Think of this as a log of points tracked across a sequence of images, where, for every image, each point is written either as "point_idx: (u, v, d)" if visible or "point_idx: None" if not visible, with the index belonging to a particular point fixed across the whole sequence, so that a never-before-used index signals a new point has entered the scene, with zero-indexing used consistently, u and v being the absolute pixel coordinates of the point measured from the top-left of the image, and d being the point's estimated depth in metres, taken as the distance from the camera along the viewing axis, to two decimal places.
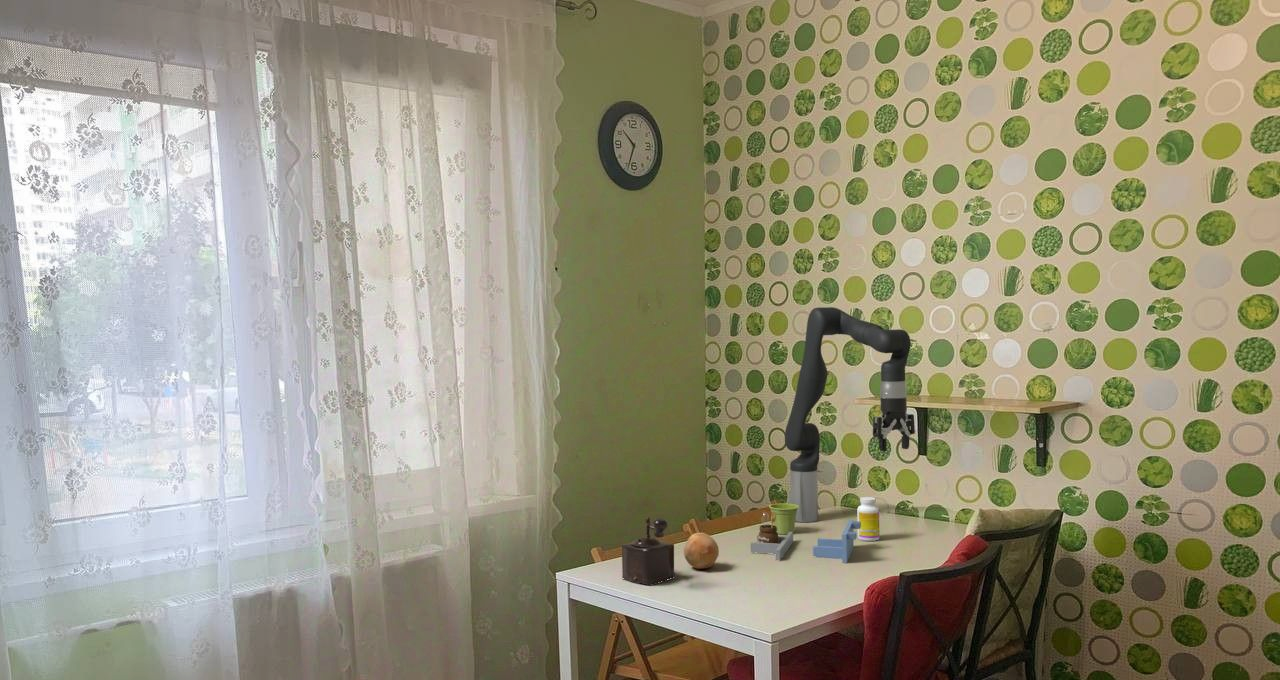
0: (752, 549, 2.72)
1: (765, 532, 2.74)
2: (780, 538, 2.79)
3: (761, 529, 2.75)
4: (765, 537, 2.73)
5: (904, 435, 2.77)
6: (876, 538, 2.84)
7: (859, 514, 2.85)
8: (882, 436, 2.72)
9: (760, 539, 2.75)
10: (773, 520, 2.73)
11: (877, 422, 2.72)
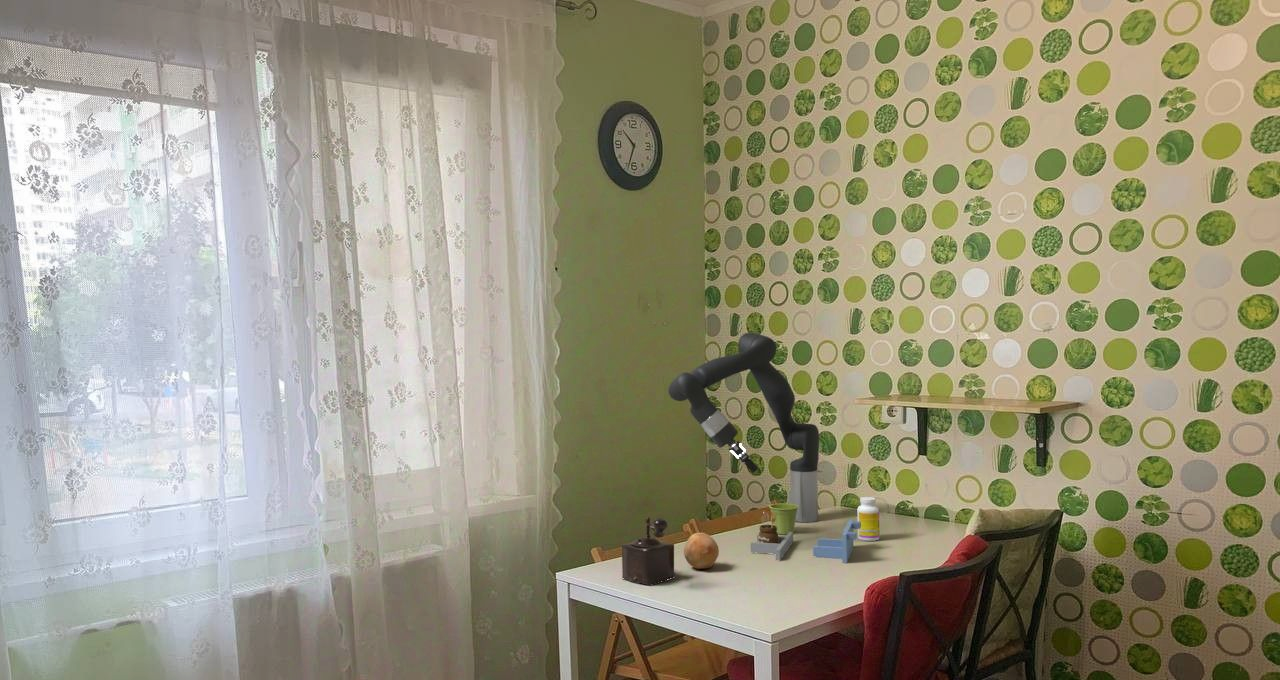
0: (752, 549, 2.72)
1: (765, 532, 2.74)
2: (780, 538, 2.79)
3: (761, 529, 2.75)
4: (765, 537, 2.73)
5: None
6: (876, 538, 2.84)
7: (859, 514, 2.85)
8: None
9: (760, 539, 2.75)
10: (773, 520, 2.73)
11: None
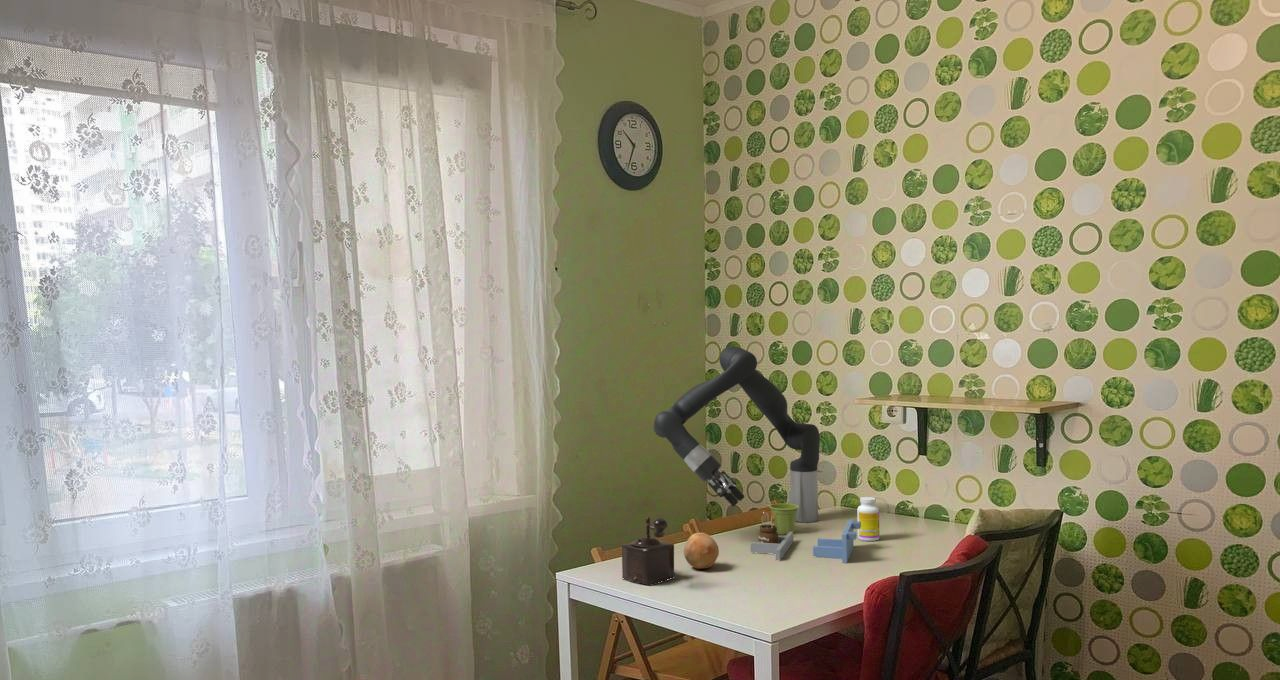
0: (752, 549, 2.72)
1: (765, 532, 2.74)
2: (780, 538, 2.79)
3: (761, 529, 2.75)
4: (765, 537, 2.73)
5: None
6: (876, 538, 2.84)
7: (859, 514, 2.85)
8: None
9: (760, 539, 2.75)
10: (773, 520, 2.73)
11: None
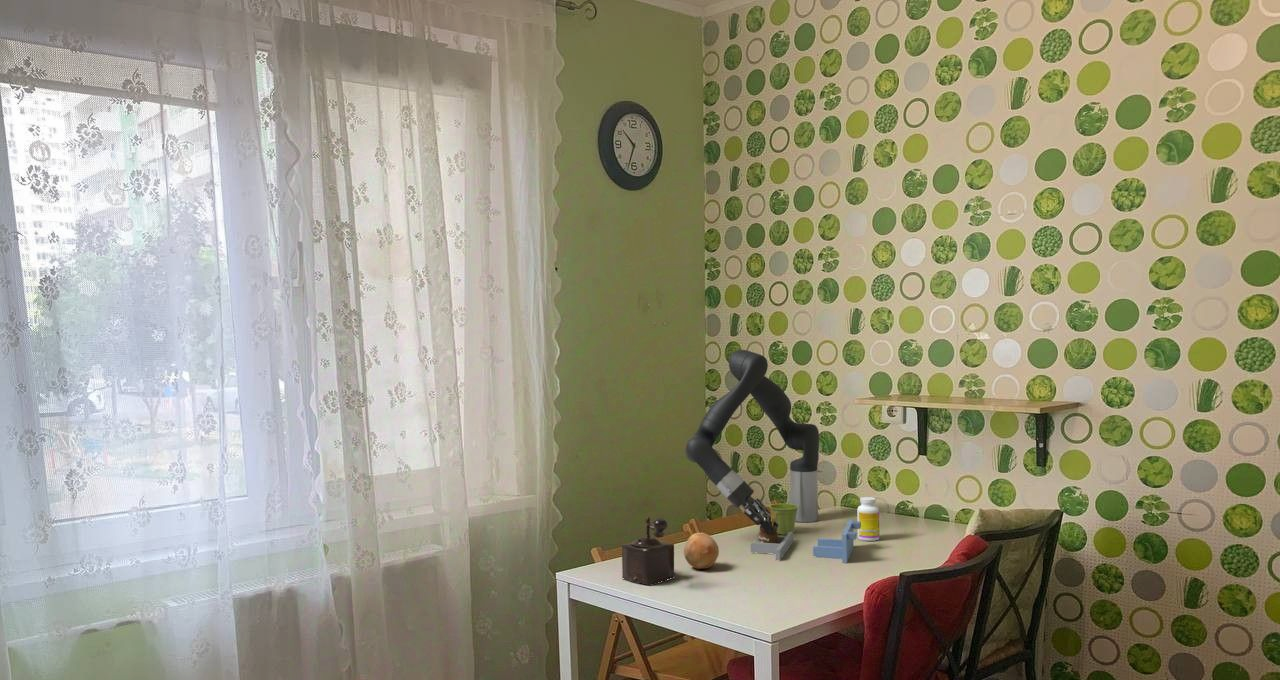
0: (752, 549, 2.72)
1: (765, 532, 2.74)
2: (780, 538, 2.79)
3: (761, 529, 2.75)
4: (765, 537, 2.73)
5: None
6: (876, 538, 2.84)
7: (859, 514, 2.85)
8: None
9: (760, 539, 2.75)
10: (773, 520, 2.73)
11: None
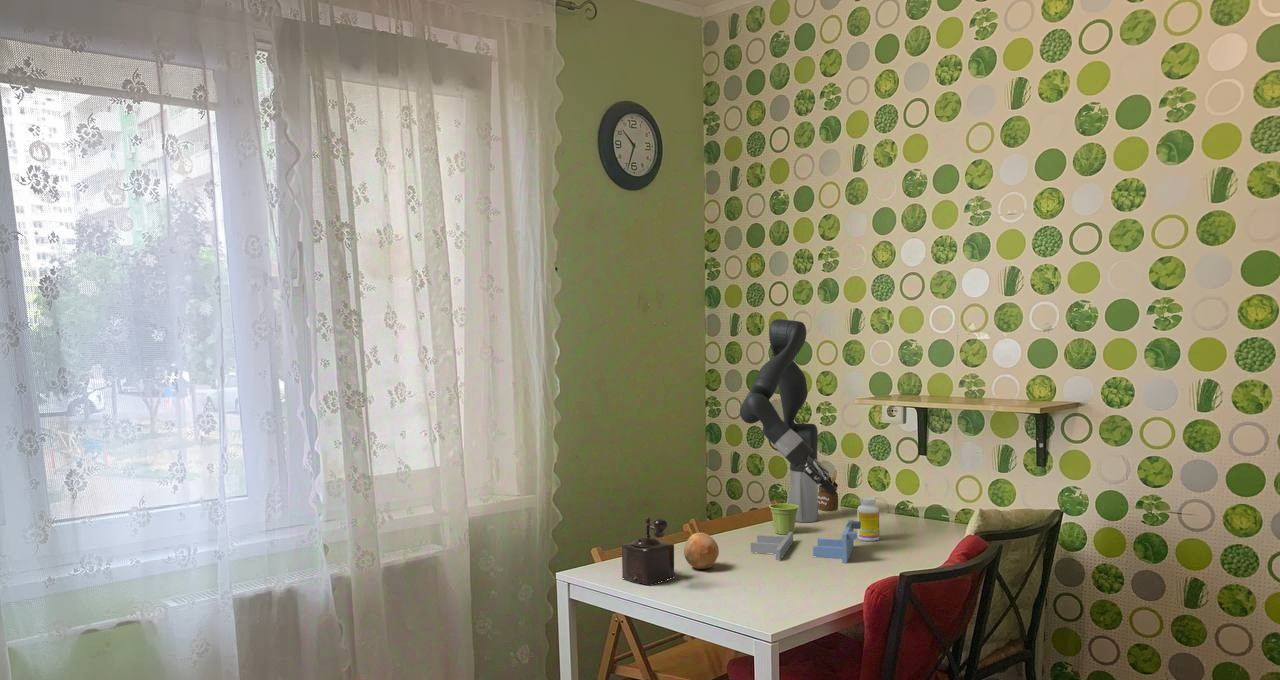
0: (752, 549, 2.72)
1: (825, 492, 2.68)
2: (780, 538, 2.79)
3: (821, 489, 2.69)
4: (825, 497, 2.67)
5: None
6: (876, 538, 2.84)
7: (859, 514, 2.85)
8: None
9: (820, 499, 2.69)
10: (833, 479, 2.67)
11: None
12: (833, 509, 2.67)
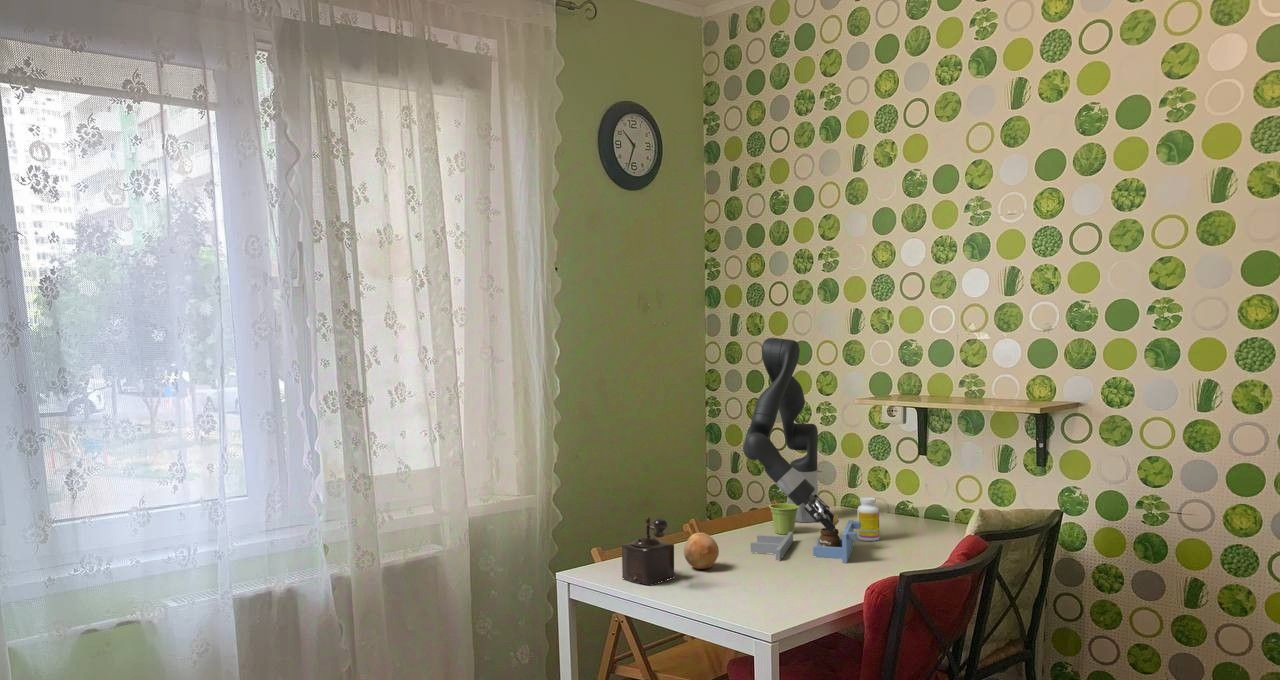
0: (752, 549, 2.72)
1: (827, 535, 2.68)
2: (780, 538, 2.79)
3: (822, 532, 2.69)
4: (827, 541, 2.68)
5: None
6: (876, 538, 2.84)
7: (859, 514, 2.85)
8: None
9: (822, 542, 2.69)
10: (835, 523, 2.68)
11: None
12: None
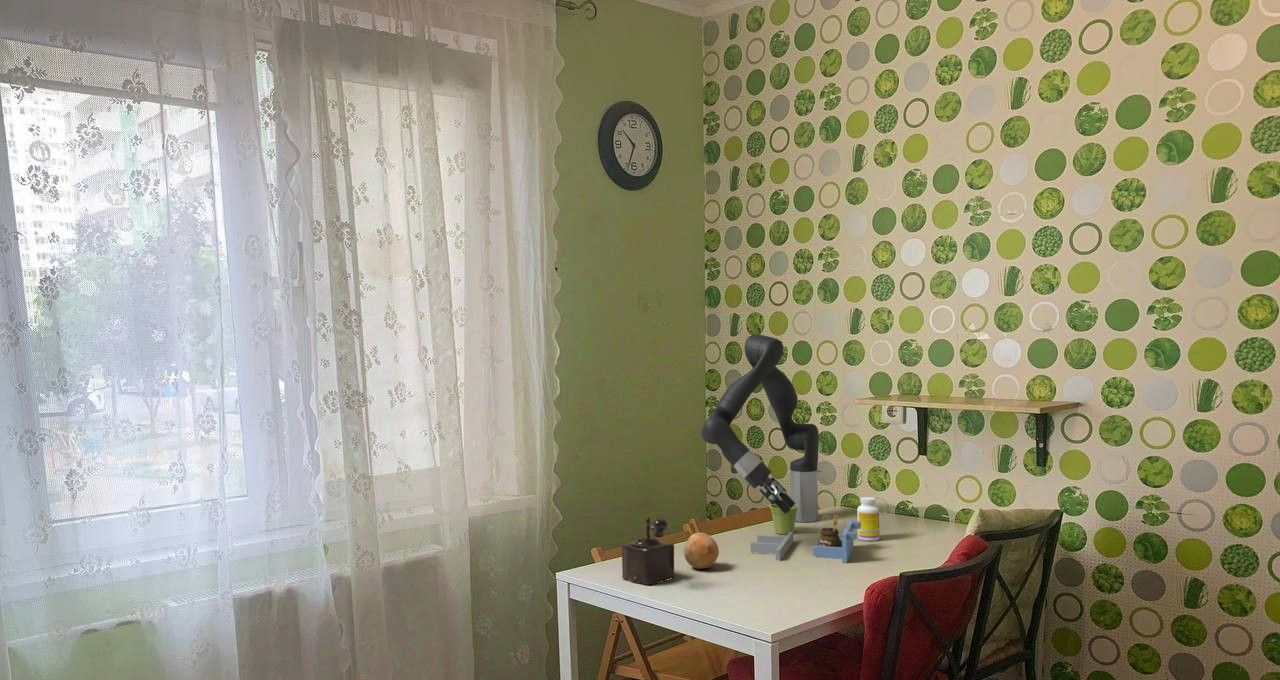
0: (752, 549, 2.72)
1: (827, 535, 2.68)
2: (780, 538, 2.79)
3: (823, 532, 2.69)
4: (827, 541, 2.68)
5: None
6: (876, 538, 2.84)
7: (859, 514, 2.85)
8: None
9: (822, 542, 2.69)
10: (835, 523, 2.68)
11: None
12: None
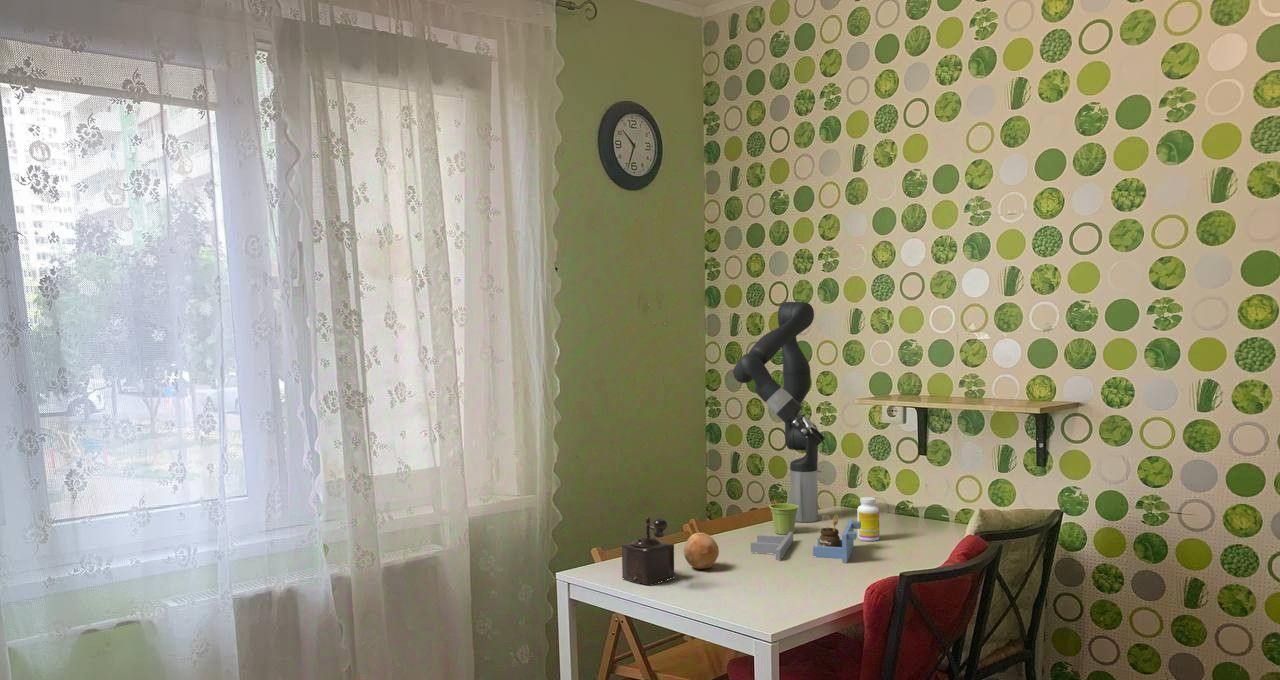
0: (752, 549, 2.72)
1: (827, 535, 2.68)
2: (780, 538, 2.79)
3: (823, 532, 2.69)
4: (827, 541, 2.68)
5: None
6: (876, 538, 2.84)
7: (859, 514, 2.85)
8: None
9: (822, 542, 2.69)
10: (835, 523, 2.68)
11: None
12: None
